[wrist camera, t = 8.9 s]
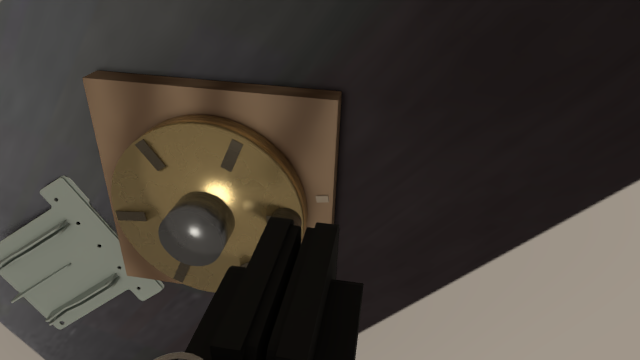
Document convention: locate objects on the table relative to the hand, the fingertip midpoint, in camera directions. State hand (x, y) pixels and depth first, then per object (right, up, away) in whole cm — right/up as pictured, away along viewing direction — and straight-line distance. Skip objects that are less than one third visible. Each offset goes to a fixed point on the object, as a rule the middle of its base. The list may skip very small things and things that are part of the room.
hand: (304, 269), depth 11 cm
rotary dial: (-9, 0, +28) cm, 29 cm away
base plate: (-8, +1, +30) cm, 31 cm away
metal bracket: (-25, -5, +38) cm, 45 cm away
